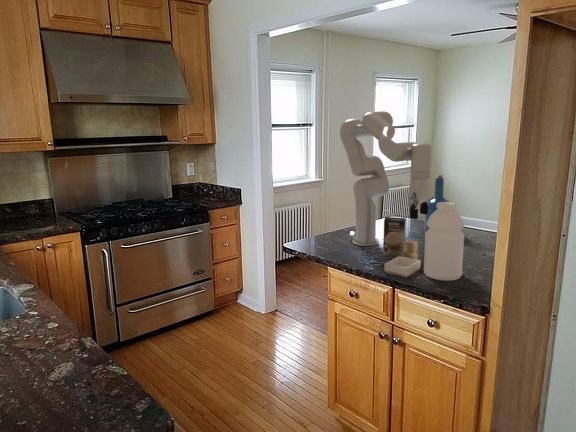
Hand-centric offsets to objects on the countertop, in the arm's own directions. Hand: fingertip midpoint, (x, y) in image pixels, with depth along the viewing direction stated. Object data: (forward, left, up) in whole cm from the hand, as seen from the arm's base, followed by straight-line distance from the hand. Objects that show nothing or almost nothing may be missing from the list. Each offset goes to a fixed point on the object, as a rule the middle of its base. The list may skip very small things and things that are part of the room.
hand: (418, 216), depth 176 cm
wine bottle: (-12, +48, -20) cm, 54 cm away
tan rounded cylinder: (-2, -2, -20) cm, 20 cm away
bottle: (+14, -8, -20) cm, 26 cm away
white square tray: (0, -13, -20) cm, 23 cm away
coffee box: (-13, +4, -20) cm, 24 cm away
